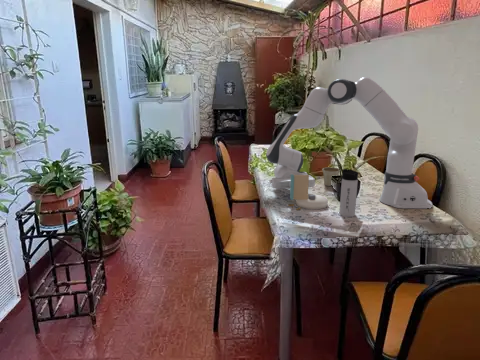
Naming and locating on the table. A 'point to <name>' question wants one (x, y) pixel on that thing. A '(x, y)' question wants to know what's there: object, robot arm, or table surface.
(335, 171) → the flower pot
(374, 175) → the table surface
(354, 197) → the travel mug
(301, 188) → the white base with panel
